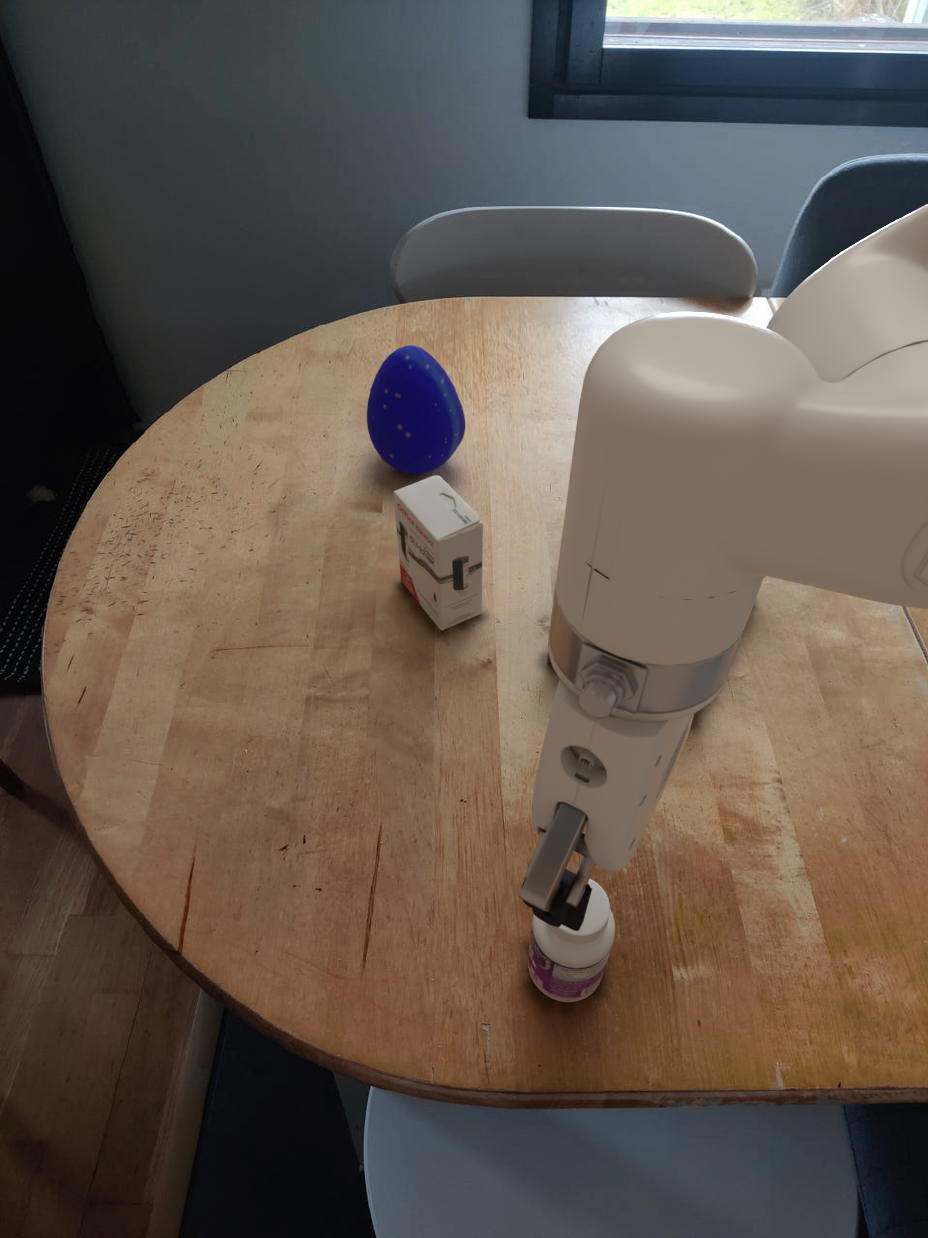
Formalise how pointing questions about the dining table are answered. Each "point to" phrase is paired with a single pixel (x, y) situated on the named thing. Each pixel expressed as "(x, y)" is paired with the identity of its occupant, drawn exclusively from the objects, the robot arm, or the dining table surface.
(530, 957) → the pill bottle
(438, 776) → the dining table surface
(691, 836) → the dining table surface
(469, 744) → the dining table surface
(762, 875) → the dining table surface
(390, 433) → the ornament
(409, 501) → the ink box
